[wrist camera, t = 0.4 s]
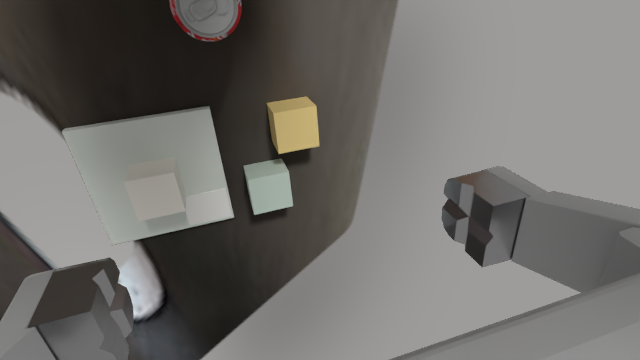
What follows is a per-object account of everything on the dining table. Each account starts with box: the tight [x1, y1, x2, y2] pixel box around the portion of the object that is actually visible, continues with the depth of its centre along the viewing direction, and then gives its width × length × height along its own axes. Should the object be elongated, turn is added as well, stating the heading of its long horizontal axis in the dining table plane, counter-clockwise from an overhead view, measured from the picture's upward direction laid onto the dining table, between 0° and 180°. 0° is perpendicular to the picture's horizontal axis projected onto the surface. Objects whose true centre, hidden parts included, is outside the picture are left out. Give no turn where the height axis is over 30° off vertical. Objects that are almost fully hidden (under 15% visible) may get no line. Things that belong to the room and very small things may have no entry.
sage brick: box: [243, 158, 293, 215], centre depth 57 cm, size 6×6×5 cm
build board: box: [62, 106, 234, 245], centre depth 51 cm, size 18×18×6 cm
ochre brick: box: [267, 97, 319, 154], centre depth 54 cm, size 6×6×5 cm
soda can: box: [169, 0, 242, 41], centre depth 40 cm, size 7×7×12 cm
